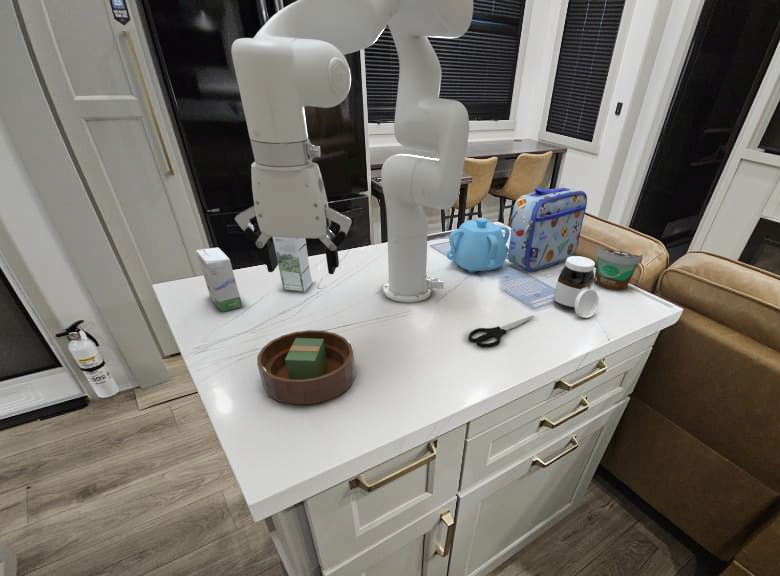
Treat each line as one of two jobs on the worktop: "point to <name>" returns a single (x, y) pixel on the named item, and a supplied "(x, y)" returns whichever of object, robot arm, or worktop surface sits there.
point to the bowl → (314, 388)
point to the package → (306, 359)
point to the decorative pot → (478, 245)
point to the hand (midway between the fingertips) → (303, 269)
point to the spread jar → (577, 287)
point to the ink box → (219, 278)
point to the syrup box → (293, 263)
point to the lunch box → (546, 227)
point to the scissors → (494, 333)
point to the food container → (615, 268)
